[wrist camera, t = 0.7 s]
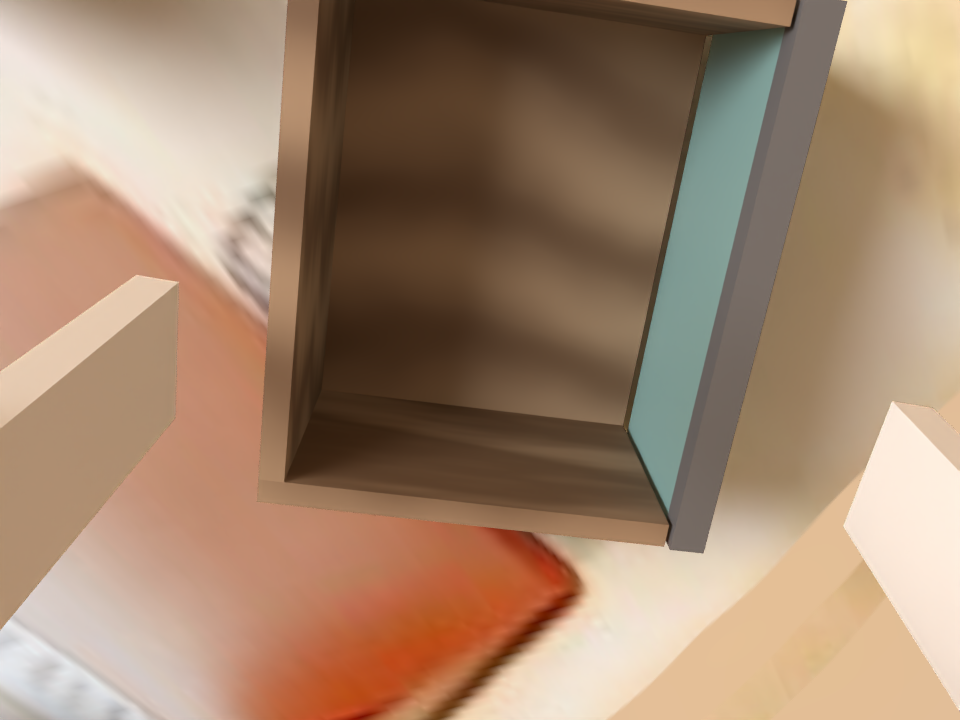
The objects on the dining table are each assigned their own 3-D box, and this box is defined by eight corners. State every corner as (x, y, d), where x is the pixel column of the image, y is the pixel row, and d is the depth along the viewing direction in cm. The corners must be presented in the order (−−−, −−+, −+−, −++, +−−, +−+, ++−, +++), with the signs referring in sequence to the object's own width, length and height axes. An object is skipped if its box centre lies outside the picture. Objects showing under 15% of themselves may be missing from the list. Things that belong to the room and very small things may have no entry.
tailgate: (649, 446, 44) (703, 553, 35) (623, 443, 44) (670, 549, 35) (746, 17, 37) (847, 1, 28) (715, 12, 37) (806, -6, 28)
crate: (615, 435, 45) (663, 546, 35) (303, 397, 44) (256, 502, 34) (704, 12, 38) (798, -6, 28) (338, -45, 37) (293, -87, 27)
